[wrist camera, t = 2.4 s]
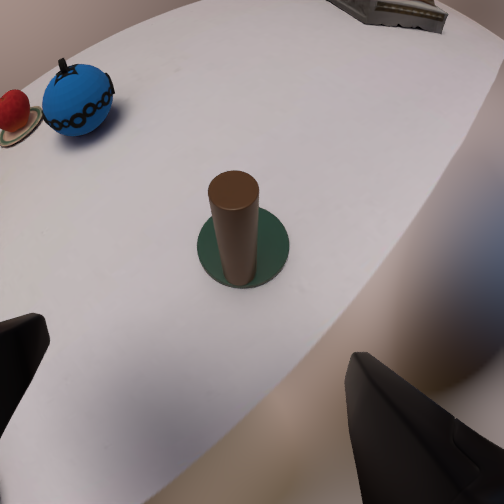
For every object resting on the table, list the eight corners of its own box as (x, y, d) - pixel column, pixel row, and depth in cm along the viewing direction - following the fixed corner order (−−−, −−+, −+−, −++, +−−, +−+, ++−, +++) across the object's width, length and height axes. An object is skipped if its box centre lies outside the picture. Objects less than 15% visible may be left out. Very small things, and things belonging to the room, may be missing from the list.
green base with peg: (303, 231, 25) (327, 139, 16) (260, 305, 23) (267, 235, 14) (228, 195, 27) (219, 100, 18) (180, 260, 24) (143, 176, 15)
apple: (-4, 157, 31) (-26, 125, 25) (4, 125, 34) (-14, 95, 28) (42, 131, 32) (22, 94, 26) (45, 101, 36) (30, 68, 30)
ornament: (127, 132, 31) (101, 57, 22) (58, 163, 29) (19, 96, 20) (118, 95, 34) (97, 31, 26) (58, 122, 33) (30, 62, 24)
